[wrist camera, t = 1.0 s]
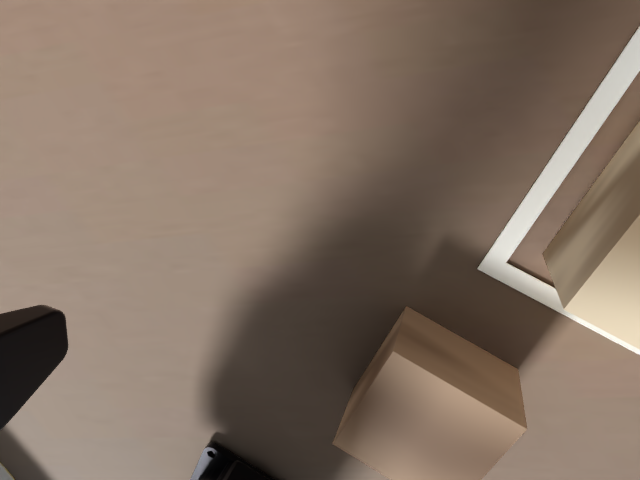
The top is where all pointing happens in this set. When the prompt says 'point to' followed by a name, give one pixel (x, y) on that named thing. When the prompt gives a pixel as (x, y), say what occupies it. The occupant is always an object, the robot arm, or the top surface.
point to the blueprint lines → (592, 117)
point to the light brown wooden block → (432, 406)
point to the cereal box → (5, 473)
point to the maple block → (604, 249)
